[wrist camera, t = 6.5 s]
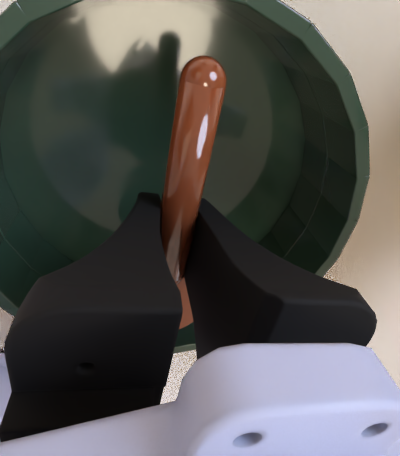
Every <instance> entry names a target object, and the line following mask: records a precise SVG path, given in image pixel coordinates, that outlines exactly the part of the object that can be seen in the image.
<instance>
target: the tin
mask: <svg viewBox="0 0 400 456" xmlns="http://www.w3.org/2000/svg"><path fill="white" fill-rule="evenodd" d="M200 55H206V56H210V57H213V58H215V59H216V60H217V61H219V62H220V63H221V65H222V66H223V68H224V70H225V72H226V76H227V86H226V91H225V95H224V100H223V104H222V109H221V113H220V118H219V123H218V127H217V132H216V136H215V141H214V145H213V150H212V154H211V159H210V163H209V168H208V172H207V177H206V181H205V186H204V190H203V195H202V198H205V199H206V200H207V201H208V202H210V203H211V204H212V205H213V206H214V207H215V208H216V209H217V210H218V211H219V212H220V213H221V214H222V215H223V216H225V217H226V218H227V219H228V220H229V221H230V222H231V223H232V224H233V225H235V226H236V227H237V228H238V229H239V230H241V231H242V232H243V233H244V234H246V235H247V236H248V237H249V238H251V239H252V240H253V241H255V242H256V243H258V244H259V245H261V246H262V247H264V248H265V249H267V250H268V251H270V252H272V253H273V254H275V255H277V256H278V257H280V258H282V259H284V260H286V261H288V262H290V263H292V264H293V265H296V266H298V267H300V268H302V269H304V270H306V271H309V272H311V273H313V274H316V275H318V276H320V277H323V276H324V275H325V274H326V273H327V271H328V270H329V269H330V268H331V267H332V266H333V264H334V263H335V262H336V261H337V260H338V258H339V256H340V254H341V253H342V251H343V249H344V247H345V245H346V243H347V241H348V239H349V237H350V235H351V234H352V232H353V230H354V228H355V226H356V224H357V222H358V219H359V216H360V212H361V208H362V204H363V200H364V196H365V192H366V188H367V184H368V180H369V175H370V167H369V131H368V126H367V125H368V123H367V120H366V117H365V114H364V112H363V109H362V106H361V103H360V100H359V97H358V94H357V91H356V88H355V85H354V82H353V79H352V76H351V74H350V72H349V70H348V69H347V67H346V66H345V65H344V63H343V62H342V61H341V60H340V58H339V57H338V56H337V54H336V53H335V52H334V50H333V49H332V48H331V46H330V45H329V44H328V42H327V41H326V40H325V38H324V37H323V36H322V34H321V33H320V32H319V30H318V29H317V28H316V26H315V25H314V24H313V23H311V21H310V20H309V19H307V18H306V17H304V16H303V15H301V14H300V13H298V12H297V11H295V10H294V9H292V8H291V7H289V6H288V5H286V4H285V3H283V2H282V1H281V0H17V1H14V2H13V3H12V4H11V5H10V6H9V7H8V8H7V9H6V10H5V11H3V12H2V13H1V14H0V307H1V308H2V309H3V310H5V311H6V312H8V313H9V314H11V315H13V316H15V315H16V313H17V311H18V309H19V308H20V306H21V304H22V302H23V301H24V299H25V297H26V296H27V294H28V293H29V291H30V290H31V288H32V287H33V285H34V284H35V282H36V281H37V280H38V278H40V277H42V276H44V275H47V274H49V273H52V272H54V271H56V270H59V269H61V268H63V267H66V266H68V265H70V264H72V263H74V262H75V261H77V260H79V259H81V258H83V257H84V256H86V255H87V254H89V253H90V252H92V251H93V250H94V249H96V248H97V247H98V246H99V245H101V244H102V243H103V242H104V241H105V240H107V239H108V238H109V237H110V236H111V235H112V234H113V233H114V232H115V231H116V230H117V229H118V227H119V226H120V225H121V224H122V222H123V221H124V220H125V219H126V217H127V216H128V214H129V213H130V211H131V210H132V208H133V207H134V205H135V203H136V201H137V198H138V194H139V193H141V192H148V193H158V194H159V196H160V199H162V192H163V185H164V178H165V172H166V165H167V158H168V151H169V145H170V138H171V131H172V125H173V118H174V111H175V104H176V98H177V91H178V84H179V77H180V73H181V71H182V68H183V67H184V65H185V64H186V63H187V62H188V61H189V60H190V59H192V58H193V57H196V56H200ZM191 350H196V342H195V332H194V323H193V322H192V323H191V324H189V325H188V326H186V327H184V328H182V329H179V331H178V335H177V340H176V344H175V348H174V352H173V354H174V353H179V352H185V351H191Z"/></svg>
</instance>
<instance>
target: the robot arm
mask: <svg viewBox="0 0 400 456" xmlns="http://www.w3.org/2000/svg"><path fill="white" fill-rule="evenodd" d="M160 205H161V199H160V196H159V194H158V193H148V192H141V193H139V194H138V198H137V201H136V203H135V205H134V207H133V208H132V210H131V211H130V213H129V214H128V216H127V217H126V219H125V220H124V221H123V222H122V224H121V225H120V226H119V227H118V229H117V230H116V231H115V232H114V233H113V234H112V235H111V236H110V237H109V238H108V239H107V240H105V241H104V242H103V243H102V244H101V245H99V246H98V247H97V248H96V249H94V250H93V251H92V252H90V253H89V254H87V255H86V256H84V257H83V258H81V259H79V260H77V261H75V262H74V263H72V264H70V265H68V266H66V267H63V268H61V269H59V270H56V271H54V272H52V273H49V274H47V275H44V276H42V277H40V278H38V280H37V281H36V282H35V284H34V285H33V287H32V288H31V290H30V291H29V293H28V294H27V296H26V297H25V299H24V301H23V302H22V304H21V306H20V308H19V309H18V311H17V313H16V315H15V318H14V320H13V323H12V325H11V328H10V330H9V333H8V335H7V338H6V340H5V347H4V353H0V456H400V389H399V388H398V386H397V385H396V383H395V382H394V380H393V379H392V378H391V376H390V375H389V373H388V372H387V370H386V369H385V367H384V366H383V364H382V363H381V361H380V360H379V358H378V357H377V356H376V354H375V353H374V351H373V350H372V348H369V347H366V346H367V344H368V343H369V341H370V340H371V338H372V336H373V334H374V332H375V329H376V324H377V319H376V315H375V313H374V311H373V310H372V309H371V308H370V306H369V305H368V304H367V302H366V301H365V300H364V298H363V297H362V296H361V294H360V293H359V292H358V290H357V289H354V288H351V287H349V286H346V285H343V284H340V283H337V282H334V281H331V280H328V279H325V278H323V277H320V276H318V275H316V274H313V273H311V272H309V271H306V270H304V269H302V268H300V267H298V266H296V265H293V264H292V263H290V262H288V261H286V260H284V259H282V258H280V257H278V256H277V255H275V254H273V253H272V252H270V251H268V250H267V249H265V248H264V247H262V246H261V245H259V244H258V243H256V242H255V241H253V240H252V239H251V238H249V237H248V236H247V235H246V234H244V233H243V232H242V231H241V230H239V229H238V228H237V227H236V226H235V225H233V224H232V223H231V222H230V221H229V220H228V219H227V218H226V217H225V216H223V215H222V214H221V213H220V212H219V211H218V210H217V209H216V208H215V207H214V206H213V205H212V204H211V203H210V202H208V201H207V200H206V199H205V198H202V199H201V204H200V208H199V213H198V217H197V222H196V226H195V231H194V235H193V240H192V244H191V249H190V253H189V258H188V262H187V267H186V271H185V275H184V279H185V284H186V288H187V293H188V297H189V302H190V306H191V310H192V316H193V323H194V332H195V342H196V353H197V360H196V361H195V362H194V364H193V365H192V366H191V368H190V369H189V371H188V372H187V373H186V375H185V376H184V378H183V379H182V382H181V386H180V390H179V393H178V397H177V399H176V401H173V402H169V403H165V404H161V405H160V401H161V397H162V392H163V388H164V387H165V386H166V382H167V378H168V374H169V369H170V365H171V361H172V357H173V352H174V348H175V344H176V340H177V335H178V331H179V327H180V323H181V318H182V314H183V307H182V300H181V293H180V290H179V288H178V287H177V285H176V283H175V281H174V279H173V277H172V274H171V272H170V270H169V267H168V264H167V261H166V257H165V253H164V250H163V246H162V241H161V236H160V209H161V207H160Z"/></svg>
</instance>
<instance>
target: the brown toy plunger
mask: <svg viewBox="0 0 400 456" xmlns="http://www.w3.org/2000/svg"><path fill="white" fill-rule="evenodd" d="M226 86H227V76H226V72H225V70H224V68H223V66H222V65H221V63H220V62H219V61H217V60H216V59H215V58H213V57H210V56H206V55H200V56H196V57H193V58H192V59H190V60H189V61H188V62H187V63H186V64H185V65H184V67H183V68H182V71H181V73H180V77H179V84H178V91H177V98H176V104H175V111H174V118H173V125H172V131H171V138H170V145H169V151H168V158H167V165H166V172H165V178H164V185H163V192H162V199H161V205H160V207H161V209H160V236H161V241H162V246H163V250H164V253H165V257H166V261H167V264H168V267H169V270H170V272H171V274H172V277H173V279H174V281H175V283H176V285H177V287H178V288H179V290H180V293H181V300H182V307H183V314H182V318H181V323H180V327H179V329H182V328H184V327H186V326H188V325H189V324H191V323H192V322H193V316H192V310H191V306H190V302H189V297H188V293H187V288H186V284H185V279H184V275H185V271H186V267H187V262H188V258H189V253H190V249H191V244H192V240H193V235H194V231H195V226H196V222H197V217H198V213H199V208H200V204H201V199H202V195H203V190H204V186H205V181H206V177H207V172H208V168H209V163H210V159H211V154H212V150H213V145H214V141H215V136H216V132H217V127H218V123H219V118H220V113H221V109H222V104H223V100H224V95H225V91H226Z"/></svg>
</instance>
